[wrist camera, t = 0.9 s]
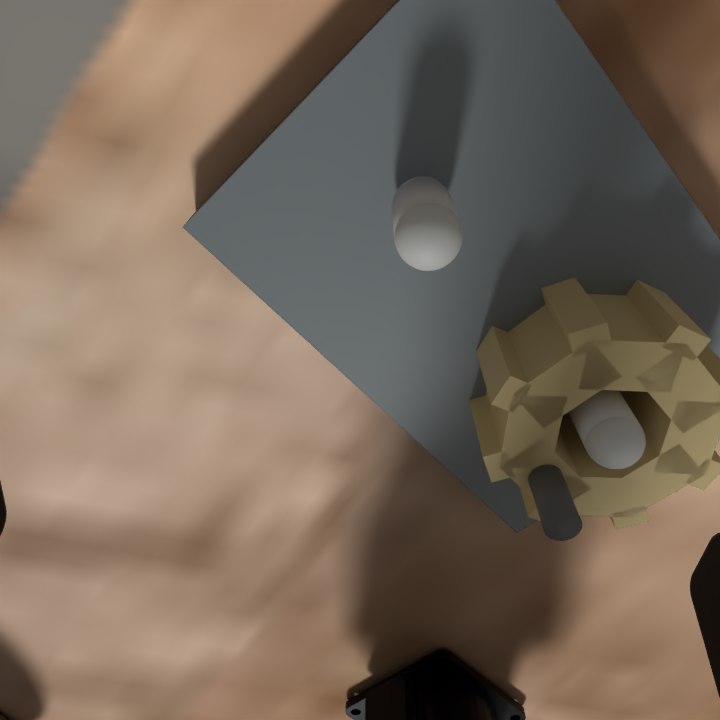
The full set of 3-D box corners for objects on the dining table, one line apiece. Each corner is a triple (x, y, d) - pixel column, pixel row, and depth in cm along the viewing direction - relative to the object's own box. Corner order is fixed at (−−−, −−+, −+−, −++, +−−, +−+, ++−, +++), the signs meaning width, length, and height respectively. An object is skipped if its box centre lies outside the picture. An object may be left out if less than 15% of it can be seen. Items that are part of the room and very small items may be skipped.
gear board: (776, 337, 21) (921, 459, 16) (509, 504, 25) (548, 651, 20) (480, -87, 16) (540, -135, 10) (195, 212, 20) (123, 298, 14)
